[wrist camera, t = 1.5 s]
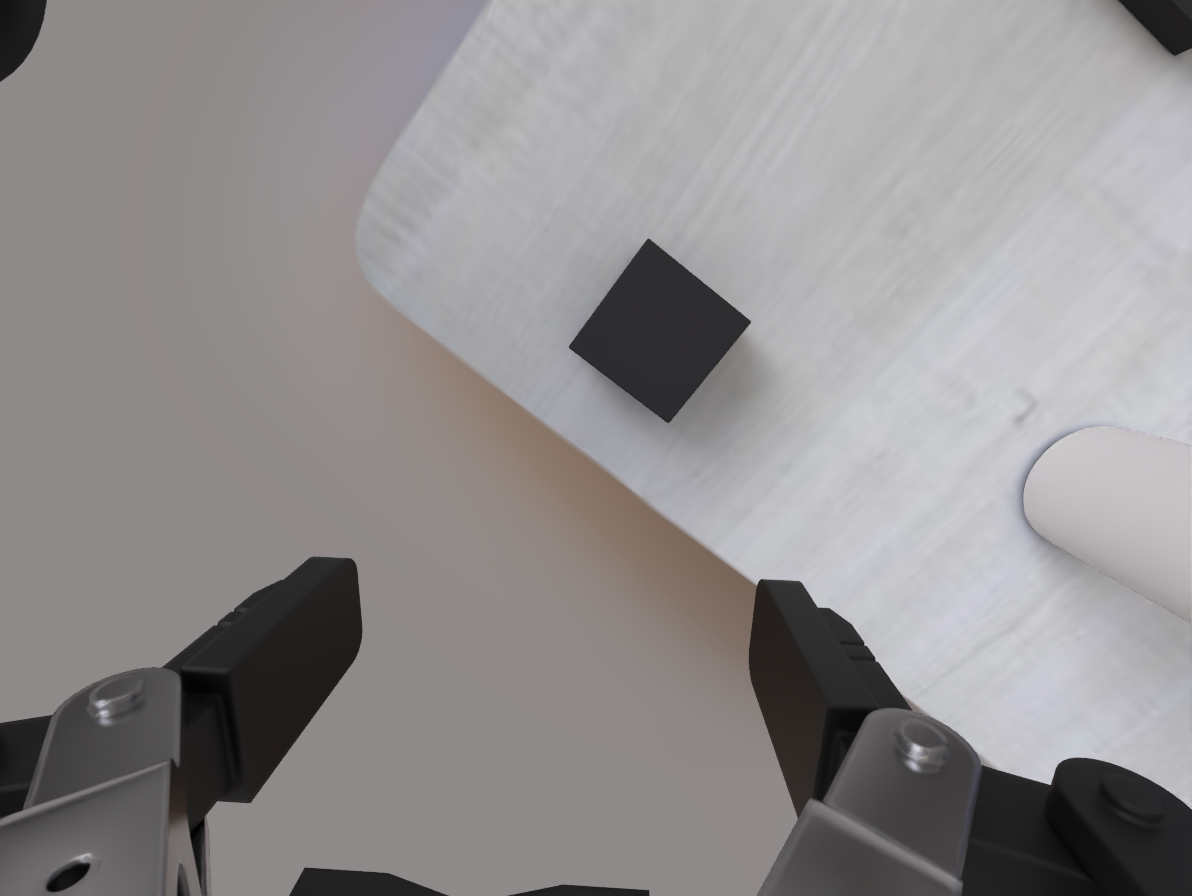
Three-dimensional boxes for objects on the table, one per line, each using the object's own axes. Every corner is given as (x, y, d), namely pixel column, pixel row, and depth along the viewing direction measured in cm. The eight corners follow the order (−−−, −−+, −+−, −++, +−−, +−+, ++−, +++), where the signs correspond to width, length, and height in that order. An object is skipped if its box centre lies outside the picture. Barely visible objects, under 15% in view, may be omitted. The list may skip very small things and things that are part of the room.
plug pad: (574, 341, 27) (568, 347, 24) (644, 245, 26) (648, 237, 23) (662, 408, 28) (668, 423, 25) (735, 318, 27) (751, 321, 23)
